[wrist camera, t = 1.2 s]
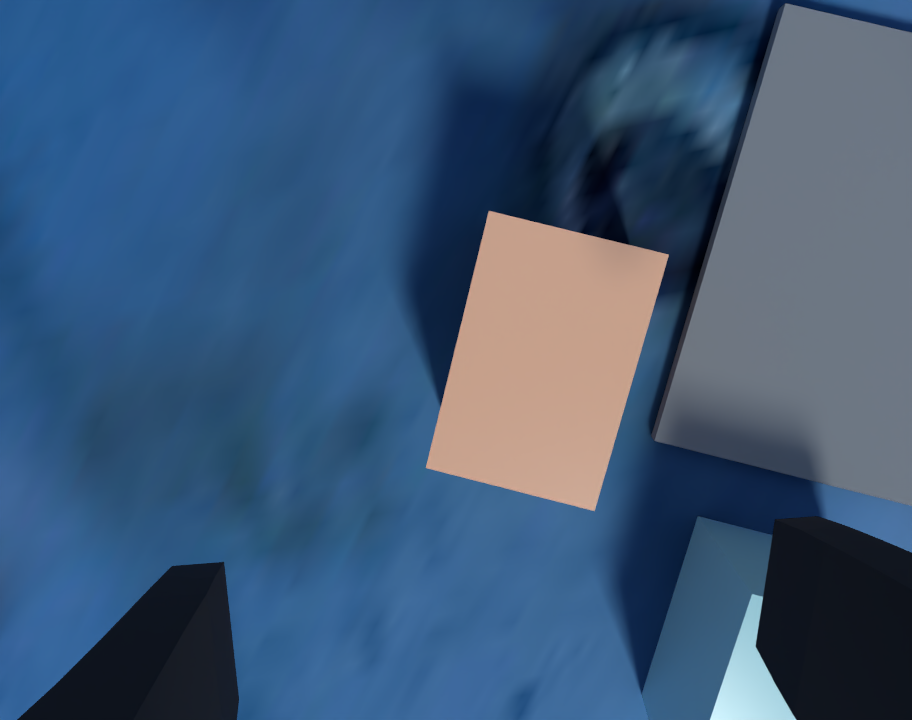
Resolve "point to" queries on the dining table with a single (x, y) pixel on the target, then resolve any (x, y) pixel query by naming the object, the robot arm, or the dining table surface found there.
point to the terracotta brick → (544, 359)
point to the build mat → (810, 270)
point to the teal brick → (715, 633)
